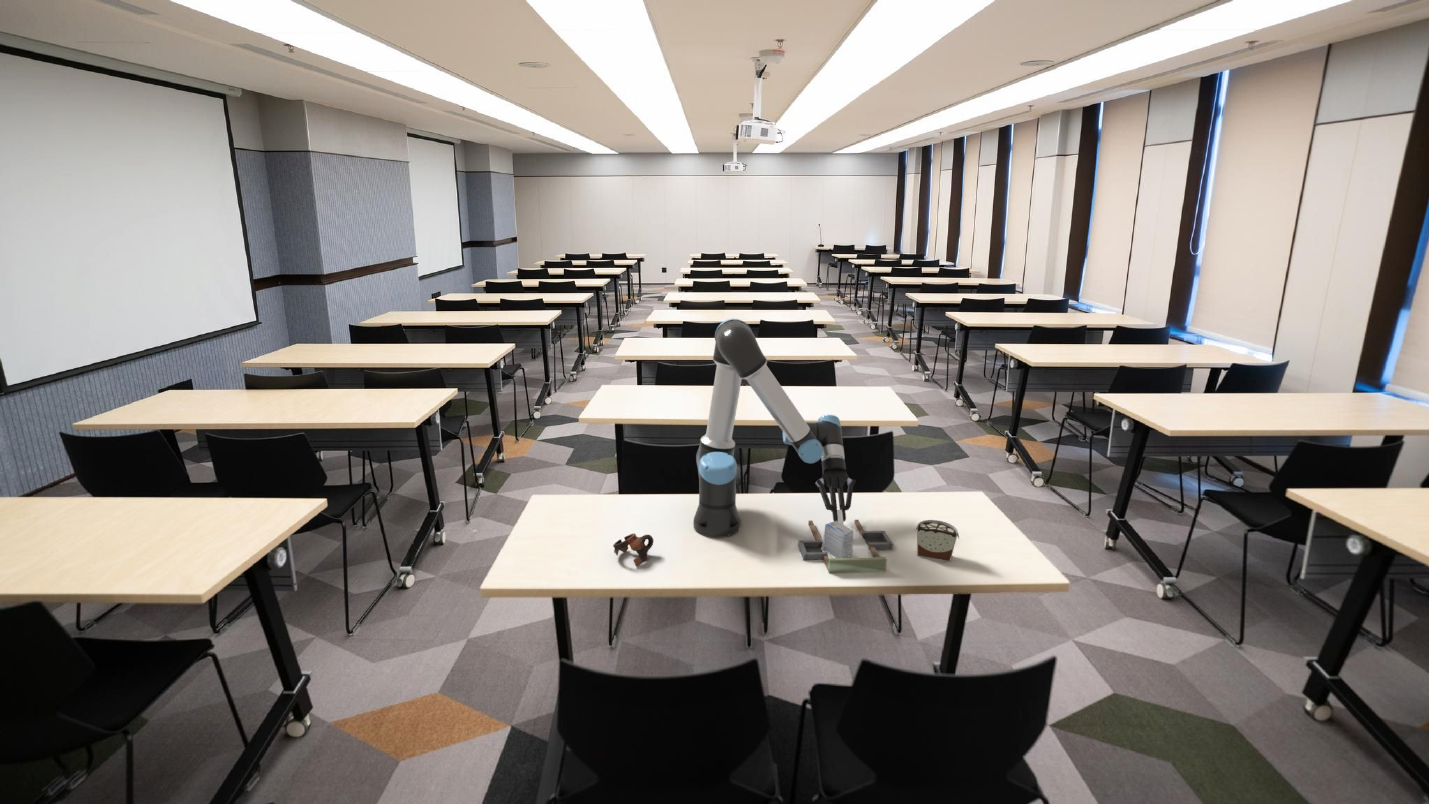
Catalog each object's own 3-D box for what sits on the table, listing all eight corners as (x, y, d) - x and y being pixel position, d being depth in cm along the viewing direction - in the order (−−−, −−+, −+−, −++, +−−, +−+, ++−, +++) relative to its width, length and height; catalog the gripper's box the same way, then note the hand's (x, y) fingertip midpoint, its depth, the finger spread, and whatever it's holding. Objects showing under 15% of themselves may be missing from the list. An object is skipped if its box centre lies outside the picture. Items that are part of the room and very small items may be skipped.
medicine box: (852, 556, 202) (854, 530, 199) (841, 561, 199) (843, 534, 197) (833, 545, 208) (835, 520, 205) (822, 549, 205) (824, 523, 203)
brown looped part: (629, 572, 192) (616, 546, 192) (618, 571, 201) (605, 546, 200) (663, 550, 198) (651, 525, 198) (651, 550, 206) (639, 526, 206)
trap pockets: (794, 538, 212) (795, 532, 211) (884, 536, 214) (884, 530, 213) (803, 560, 199) (803, 554, 198) (897, 558, 201) (898, 552, 200)
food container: (955, 552, 205) (959, 523, 202) (955, 562, 199) (959, 532, 196) (913, 545, 209) (916, 516, 206) (912, 555, 203) (915, 525, 200)
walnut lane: (808, 524, 221) (808, 513, 219) (857, 523, 222) (858, 512, 220) (828, 573, 193) (829, 560, 192) (885, 571, 194) (886, 559, 193)
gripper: (850, 465, 225) (858, 534, 214) (811, 465, 225) (817, 534, 214) (855, 456, 219) (864, 527, 208) (815, 456, 218) (822, 527, 207)
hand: (840, 531), depth 211 cm, fingers closed
